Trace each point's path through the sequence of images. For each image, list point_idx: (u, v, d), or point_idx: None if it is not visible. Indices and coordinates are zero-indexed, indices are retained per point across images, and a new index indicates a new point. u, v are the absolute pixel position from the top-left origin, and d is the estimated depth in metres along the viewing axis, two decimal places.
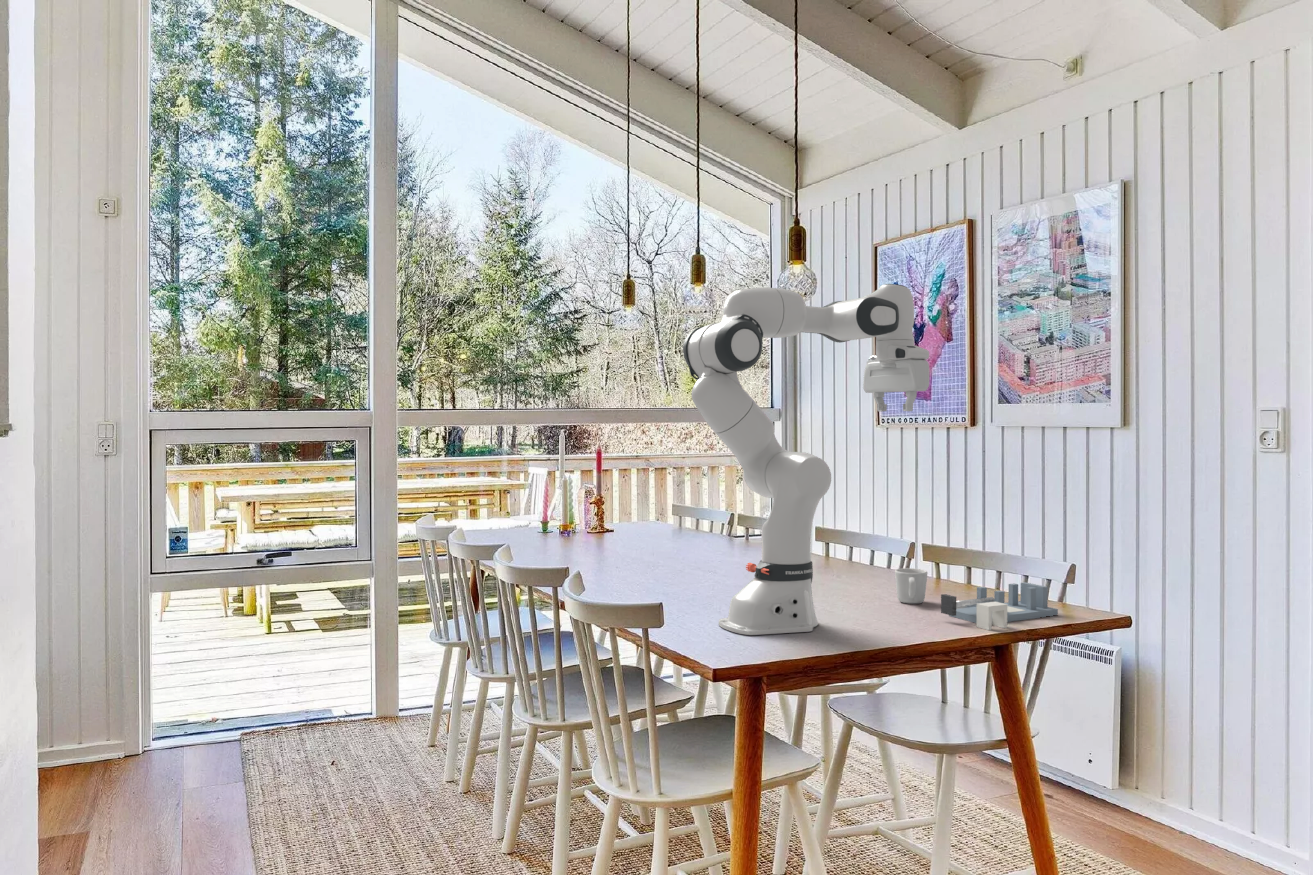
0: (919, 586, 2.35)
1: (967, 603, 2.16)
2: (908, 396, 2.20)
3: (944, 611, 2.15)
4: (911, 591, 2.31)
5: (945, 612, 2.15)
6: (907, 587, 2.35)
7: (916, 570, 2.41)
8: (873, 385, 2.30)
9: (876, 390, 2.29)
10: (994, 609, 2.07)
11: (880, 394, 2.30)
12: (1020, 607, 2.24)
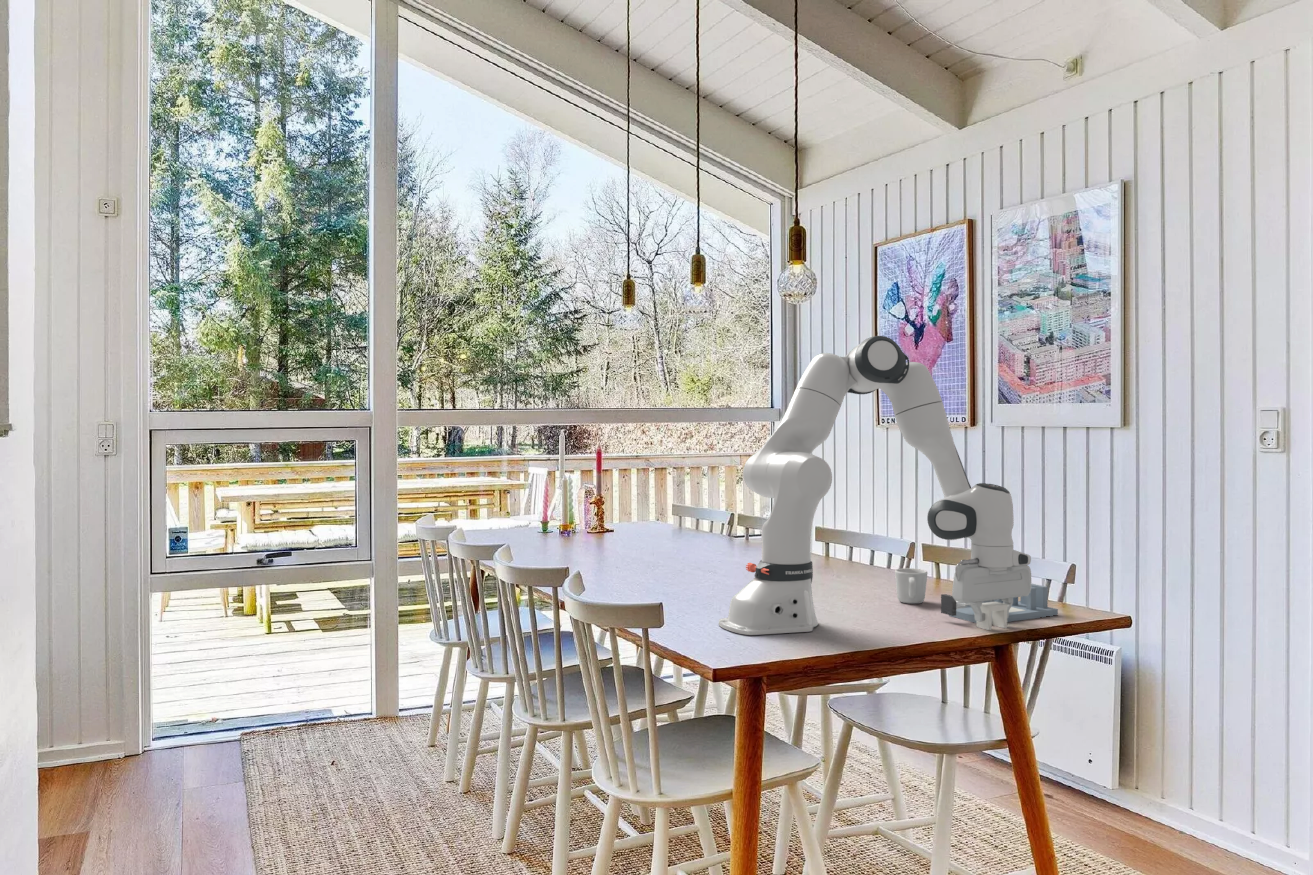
0: (919, 586, 2.35)
1: (967, 603, 2.16)
2: (1011, 602, 2.11)
3: (944, 611, 2.15)
4: (911, 591, 2.31)
5: (945, 612, 2.15)
6: (907, 587, 2.35)
7: (916, 570, 2.41)
8: (978, 594, 2.06)
9: (981, 599, 2.06)
10: (994, 609, 2.07)
11: None
12: (1020, 607, 2.24)
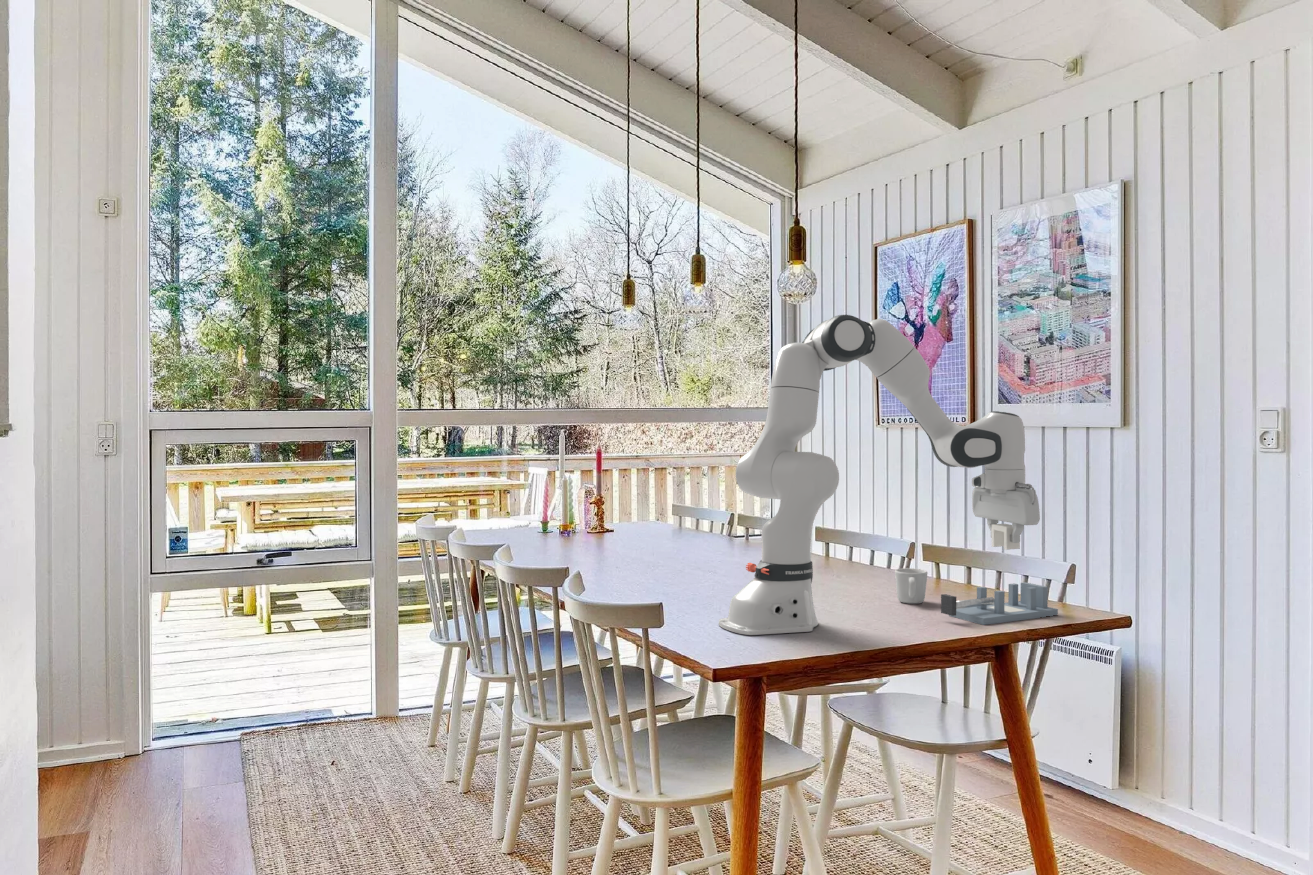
0: (919, 586, 2.35)
1: (967, 603, 2.16)
2: None
3: (944, 611, 2.15)
4: (911, 591, 2.31)
5: (945, 612, 2.15)
6: (907, 587, 2.35)
7: (916, 570, 2.41)
8: None
9: None
10: None
11: None
12: (1020, 607, 2.24)
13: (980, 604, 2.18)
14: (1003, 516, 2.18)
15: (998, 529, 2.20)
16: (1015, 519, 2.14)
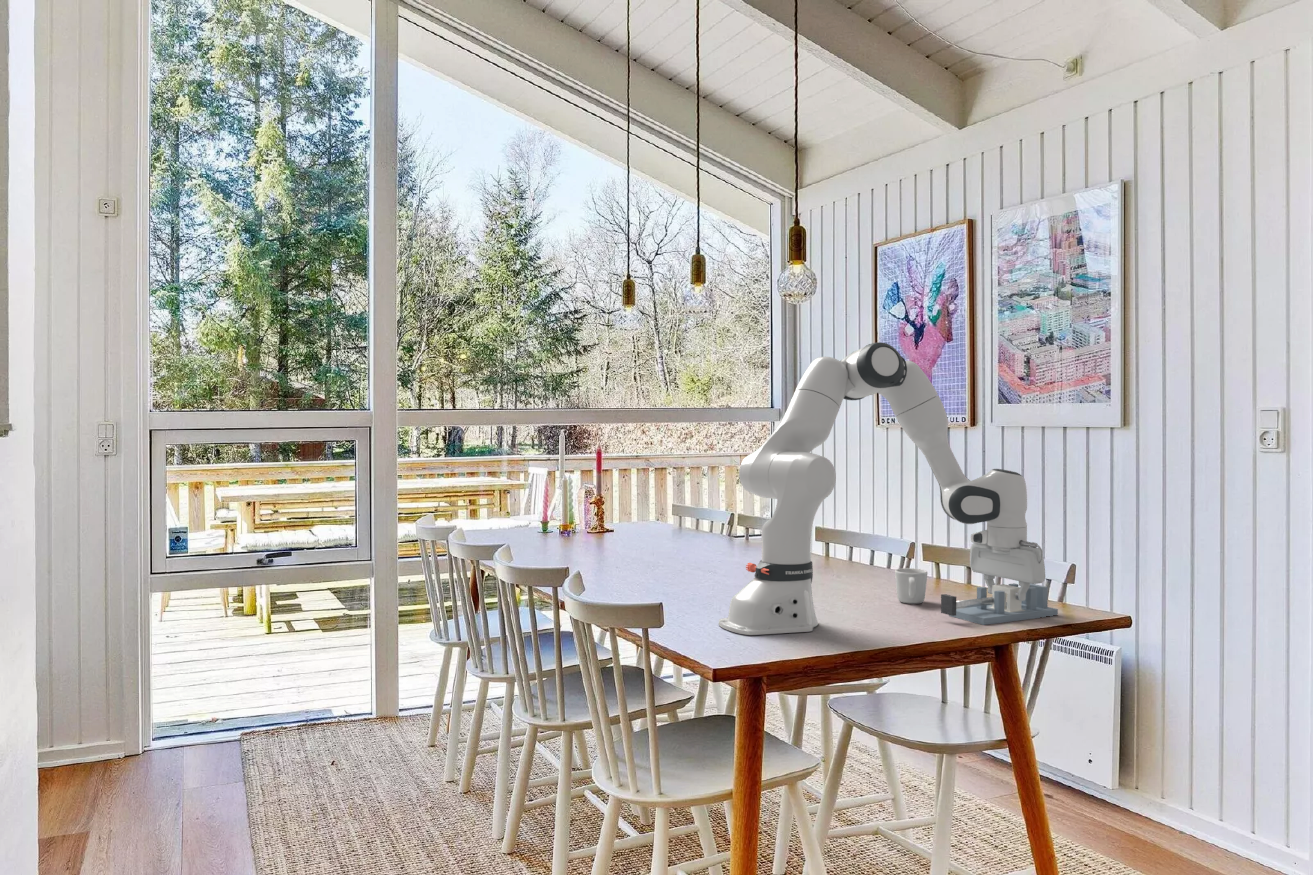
0: (919, 586, 2.35)
1: (967, 603, 2.16)
2: None
3: (944, 611, 2.15)
4: (911, 591, 2.31)
5: (945, 612, 2.15)
6: (907, 587, 2.35)
7: (916, 570, 2.41)
8: None
9: None
10: None
11: None
12: None
13: (980, 604, 2.18)
14: (1006, 573, 2.20)
15: (1000, 590, 2.21)
16: (1020, 577, 2.16)
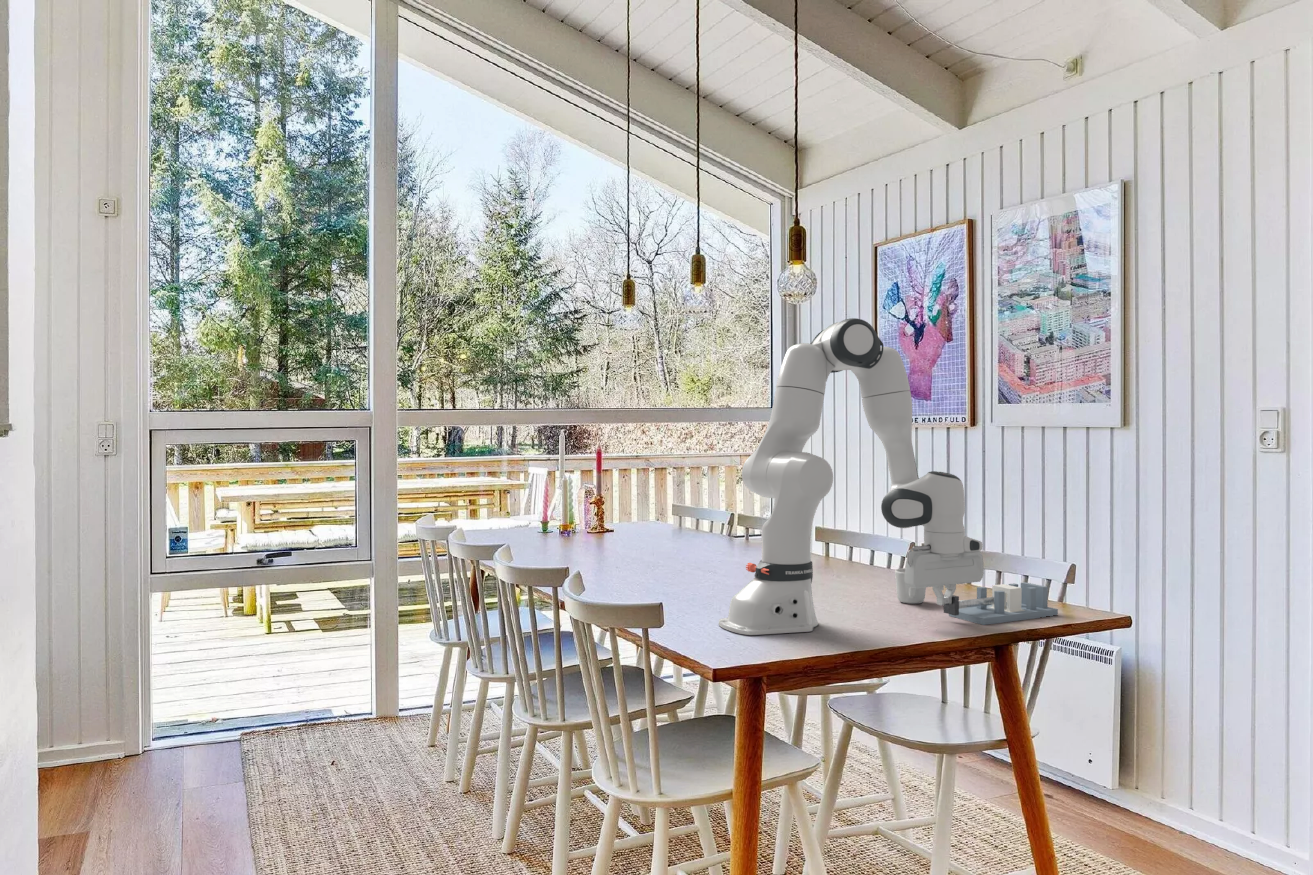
0: None
1: (969, 602, 2.16)
2: (954, 589, 2.14)
3: (947, 611, 2.15)
4: (911, 591, 2.31)
5: (948, 612, 2.15)
6: (907, 587, 2.35)
7: None
8: (930, 579, 2.10)
9: (933, 585, 2.10)
10: None
11: None
12: None
13: (982, 604, 2.18)
14: None
15: (1000, 590, 2.21)
16: None
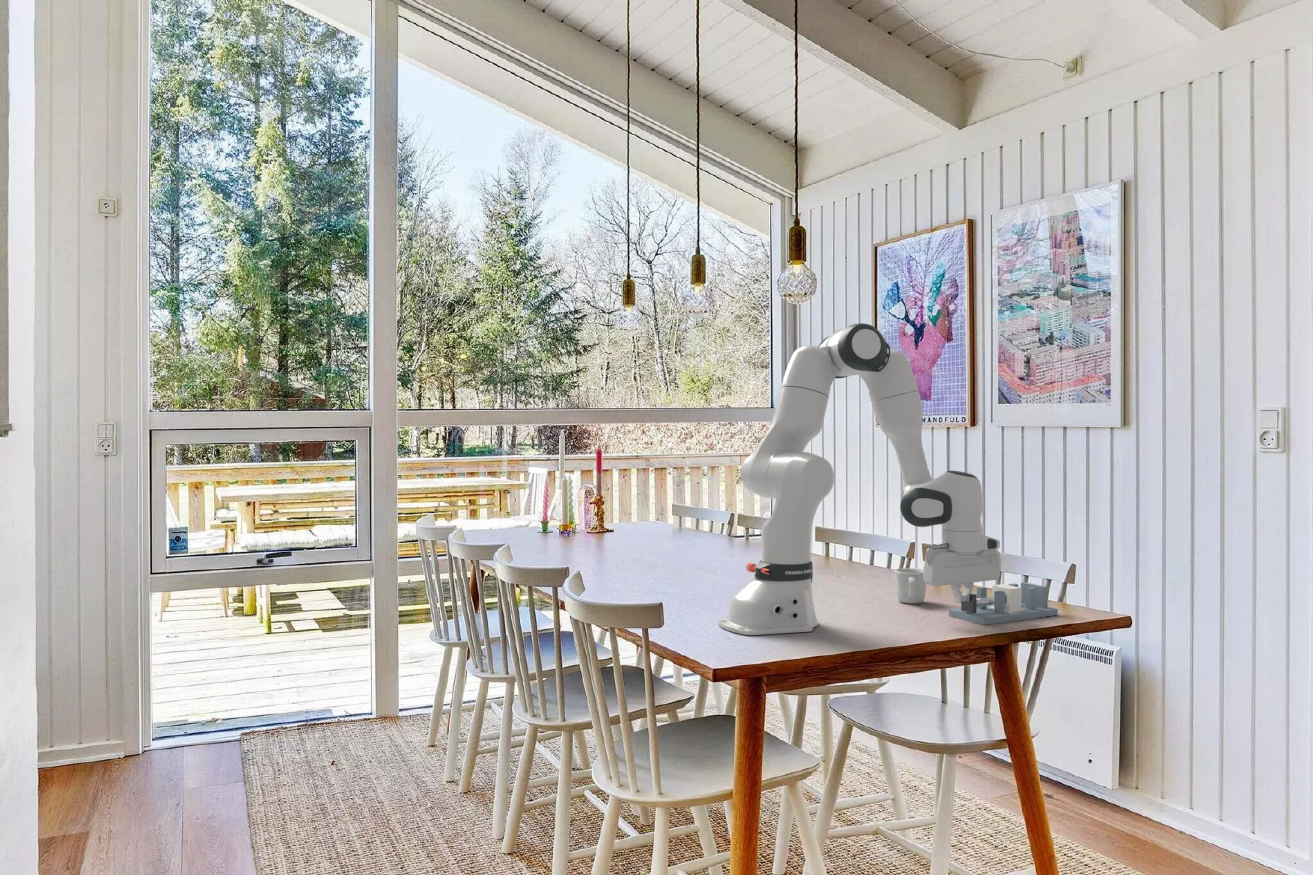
0: (919, 586, 2.35)
1: (987, 600, 2.18)
2: (972, 587, 2.16)
3: (964, 609, 2.18)
4: (911, 591, 2.31)
5: (965, 610, 2.17)
6: (907, 587, 2.35)
7: (916, 570, 2.41)
8: (948, 577, 2.12)
9: (951, 583, 2.13)
10: None
11: None
12: None
13: None
14: None
15: (1000, 590, 2.21)
16: None
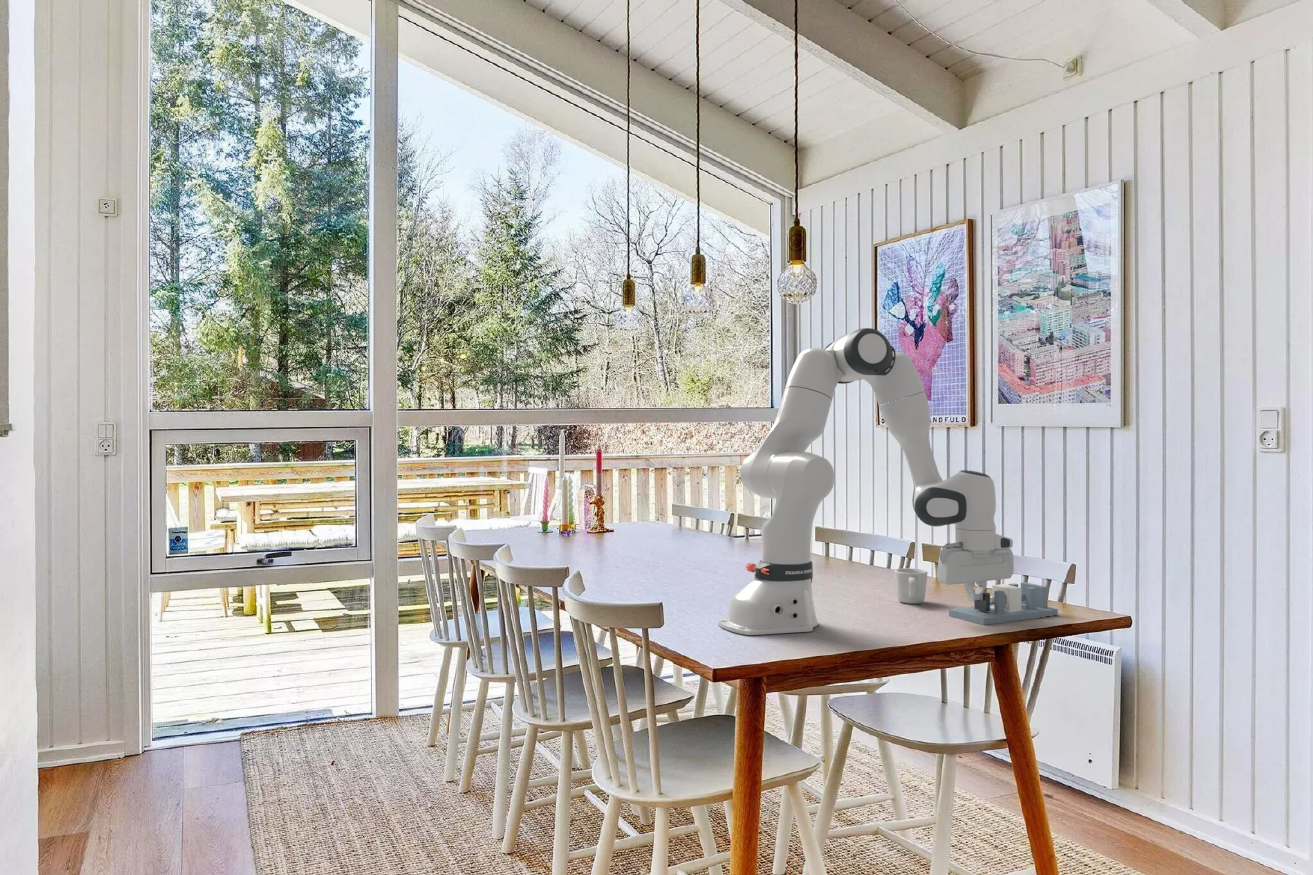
0: (919, 586, 2.35)
1: None
2: (985, 586, 2.18)
3: (977, 607, 2.19)
4: (911, 591, 2.31)
5: (978, 608, 2.19)
6: (907, 587, 2.35)
7: (916, 570, 2.41)
8: (962, 576, 2.14)
9: (965, 581, 2.14)
10: None
11: None
12: None
13: None
14: None
15: (1000, 590, 2.21)
16: None
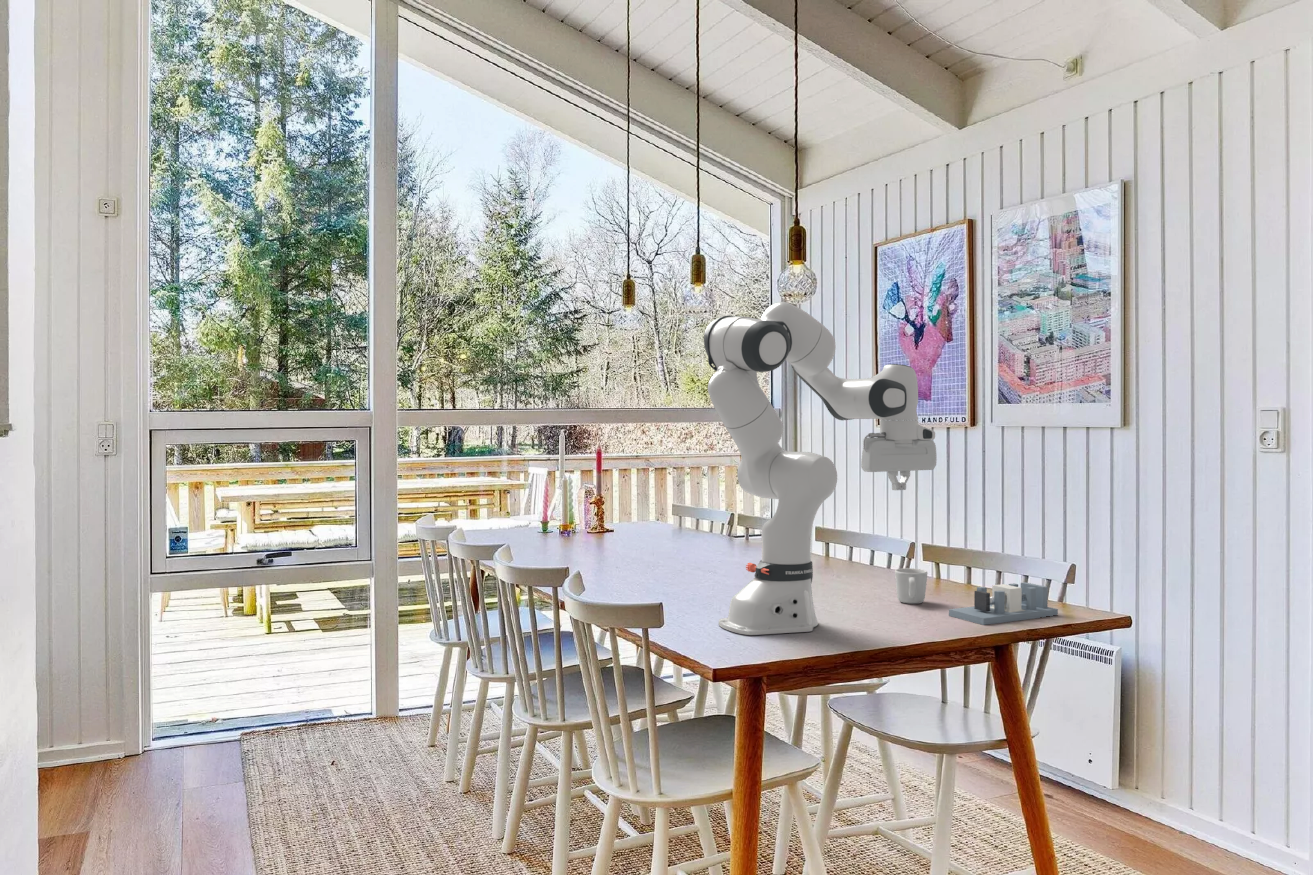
0: (919, 586, 2.35)
1: None
2: (908, 475, 2.27)
3: (977, 607, 2.19)
4: (911, 591, 2.31)
5: (978, 608, 2.19)
6: (907, 587, 2.35)
7: (916, 570, 2.41)
8: (885, 464, 2.23)
9: (888, 469, 2.23)
10: None
11: None
12: None
13: None
14: None
15: (1000, 590, 2.21)
16: None
